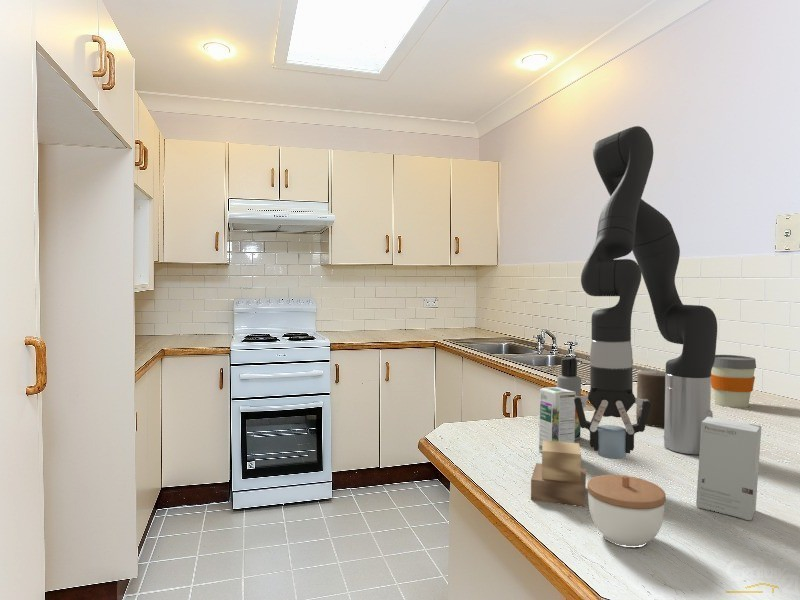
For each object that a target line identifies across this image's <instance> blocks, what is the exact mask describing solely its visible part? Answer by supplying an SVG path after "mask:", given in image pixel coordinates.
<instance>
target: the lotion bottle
mask: <svg viewBox="0 0 800 600" xmlns="http://www.w3.org/2000/svg"><path fill="white" fill-rule="evenodd" d="M560 367H561V368H560V375H557V376H556V377H557V378H556V387H559V388H562V389H566V390H569V391H574V392H575V393H576V395H578V396H582V377H581V376H579V375H578V359H577V358H576V357H575V356H567V357H562V358H561V360H560ZM581 429H582V427H581V426H580V423H579V419H578V415H577V411H576V406H575V441H578V440H580V439H581V432H582V431H581Z"/></svg>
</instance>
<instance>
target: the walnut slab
mask: <svg viewBox="0 0 800 600" xmlns="http://www.w3.org/2000/svg"><path fill="white" fill-rule="evenodd" d="M586 472H587V469H586V468H582V467H581V483H577V482H567V481H557V480H547V479H542V463H539V462H538V463H537V462H536V463H535V465H534V469H533V472H532V475H531V478H530V500H531V501H537V502H544V503H545V502H546V503H552V504H558V503H560V505H565V504H567V505H566V506H572V505H576V506H575V507H579V506H582V507H581V508H586V489H587V487H586V486H587V485H586V482H587V481H586V480H587V479H586V477H587V476H586V474H587V473H586Z"/></svg>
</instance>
